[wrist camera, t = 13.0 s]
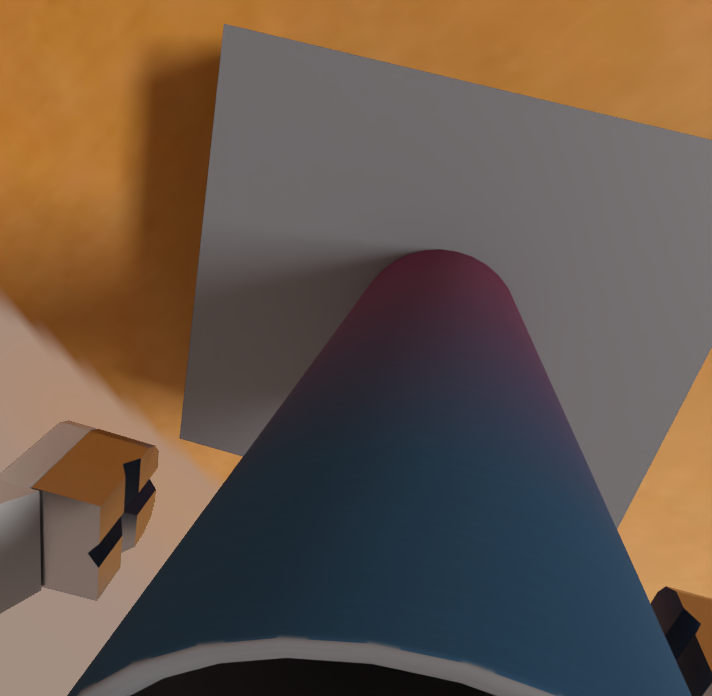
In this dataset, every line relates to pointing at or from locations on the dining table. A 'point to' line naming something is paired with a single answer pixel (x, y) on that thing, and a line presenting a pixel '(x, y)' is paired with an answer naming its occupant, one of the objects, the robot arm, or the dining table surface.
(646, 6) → the dining table surface
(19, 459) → the robot arm
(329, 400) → the cup
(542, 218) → the plinth
